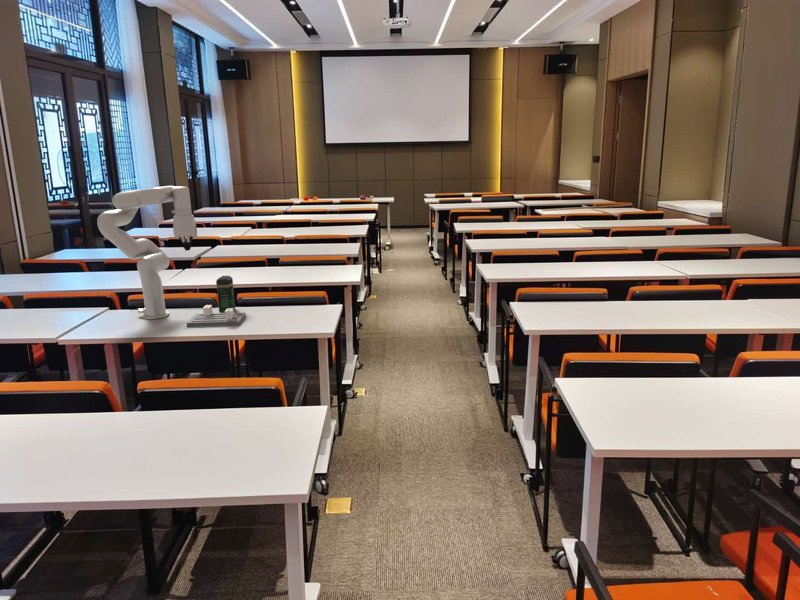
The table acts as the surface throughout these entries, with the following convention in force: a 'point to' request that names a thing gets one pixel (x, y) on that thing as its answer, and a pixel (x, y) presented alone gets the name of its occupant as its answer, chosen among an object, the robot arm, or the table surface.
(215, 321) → the console
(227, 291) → the coffee jar
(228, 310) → the fader cap
